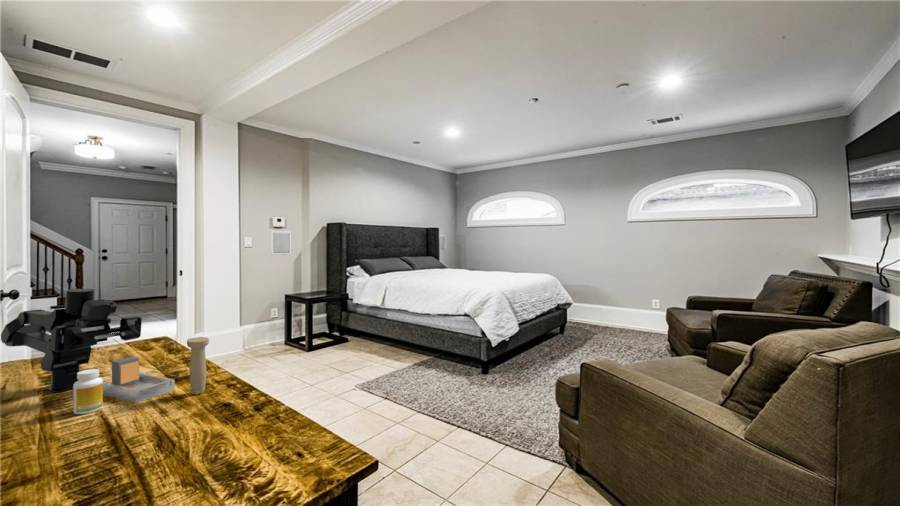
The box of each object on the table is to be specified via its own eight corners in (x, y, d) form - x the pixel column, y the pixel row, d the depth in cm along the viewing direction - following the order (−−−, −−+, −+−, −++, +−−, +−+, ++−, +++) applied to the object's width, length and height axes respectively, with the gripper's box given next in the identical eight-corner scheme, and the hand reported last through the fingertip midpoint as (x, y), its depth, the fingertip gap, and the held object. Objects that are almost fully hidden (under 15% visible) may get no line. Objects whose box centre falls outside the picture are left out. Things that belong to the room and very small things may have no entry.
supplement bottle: (108, 407, 96) (108, 369, 96) (81, 416, 91) (81, 376, 91) (94, 404, 98) (94, 366, 98) (68, 412, 93) (67, 373, 93)
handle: (191, 398, 102) (191, 343, 102) (184, 392, 106) (184, 339, 106) (211, 393, 106) (211, 339, 106) (203, 387, 110) (203, 336, 110)
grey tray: (99, 393, 105) (99, 363, 105) (139, 382, 114) (139, 354, 114) (136, 402, 99) (136, 370, 99) (174, 390, 108) (174, 360, 108)
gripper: (40, 302, 96) (73, 313, 90) (126, 295, 113) (159, 303, 107) (37, 346, 96) (70, 359, 91) (123, 332, 114) (156, 342, 108)
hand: (118, 338), depth 99 cm, fingers open, 9 cm apart
